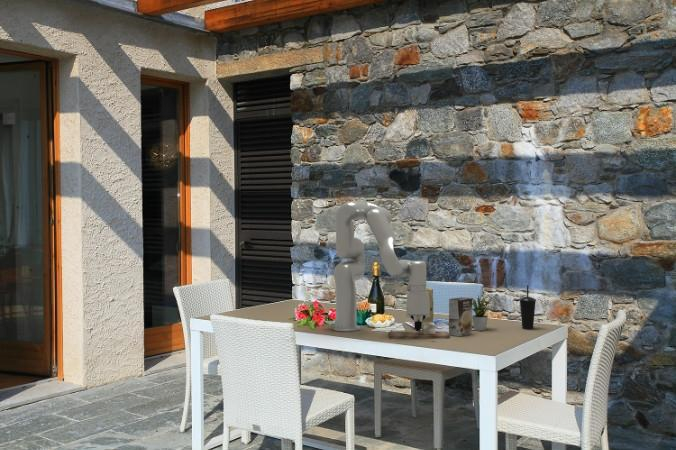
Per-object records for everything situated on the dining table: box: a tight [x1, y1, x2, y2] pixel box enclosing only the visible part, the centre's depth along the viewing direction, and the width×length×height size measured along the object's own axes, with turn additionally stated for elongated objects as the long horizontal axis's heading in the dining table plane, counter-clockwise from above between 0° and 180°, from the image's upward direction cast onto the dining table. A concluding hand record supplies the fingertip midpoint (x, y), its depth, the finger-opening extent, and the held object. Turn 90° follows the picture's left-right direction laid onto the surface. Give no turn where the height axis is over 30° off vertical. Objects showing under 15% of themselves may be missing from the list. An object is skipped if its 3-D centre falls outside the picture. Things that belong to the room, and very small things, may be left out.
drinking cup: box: [518, 285, 537, 330], centre depth 340 cm, size 8×8×20 cm
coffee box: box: [448, 297, 473, 337], centre depth 328 cm, size 9×6×16 cm
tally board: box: [388, 330, 451, 340], centre depth 324 cm, size 26×10×1 cm, turn 89°
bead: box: [421, 322, 436, 334], centre depth 324 cm, size 5×6×4 cm
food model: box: [416, 285, 434, 323], centre depth 342 cm, size 10×7×20 cm
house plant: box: [470, 293, 494, 332], centre depth 338 cm, size 14×14×16 cm
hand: (418, 330), depth 324 cm, fingers closed
